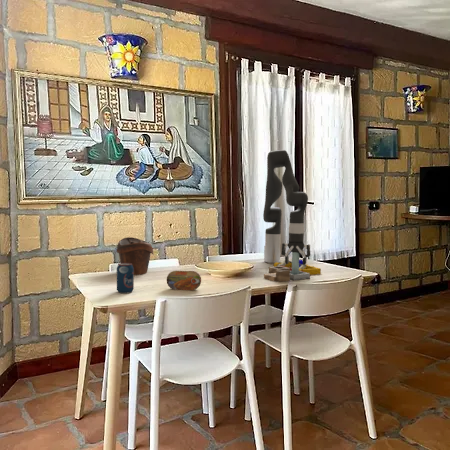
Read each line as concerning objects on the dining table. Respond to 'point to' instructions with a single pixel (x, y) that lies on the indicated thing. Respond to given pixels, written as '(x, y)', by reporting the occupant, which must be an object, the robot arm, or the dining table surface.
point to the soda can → (125, 278)
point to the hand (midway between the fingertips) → (295, 264)
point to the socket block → (274, 269)
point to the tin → (183, 280)
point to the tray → (299, 275)
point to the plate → (270, 276)
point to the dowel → (295, 263)
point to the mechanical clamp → (301, 267)
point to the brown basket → (135, 253)
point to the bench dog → (282, 275)
